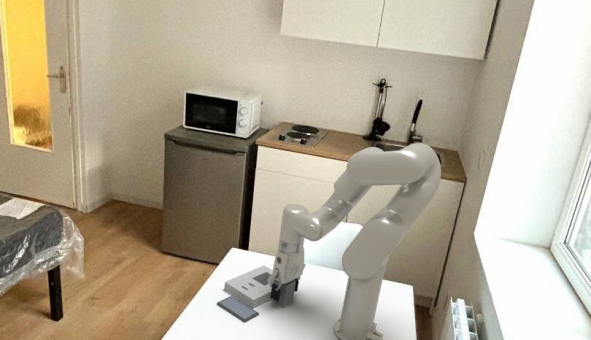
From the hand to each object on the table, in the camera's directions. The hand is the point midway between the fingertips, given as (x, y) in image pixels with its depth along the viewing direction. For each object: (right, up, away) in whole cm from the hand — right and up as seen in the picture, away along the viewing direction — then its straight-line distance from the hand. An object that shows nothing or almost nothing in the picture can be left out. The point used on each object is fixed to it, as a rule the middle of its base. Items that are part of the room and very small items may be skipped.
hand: (284, 294), depth 152 cm
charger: (0, -3, +1) cm, 3 cm away
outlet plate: (-9, 0, +6) cm, 10 cm away
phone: (-14, -4, -6) cm, 16 cm away
